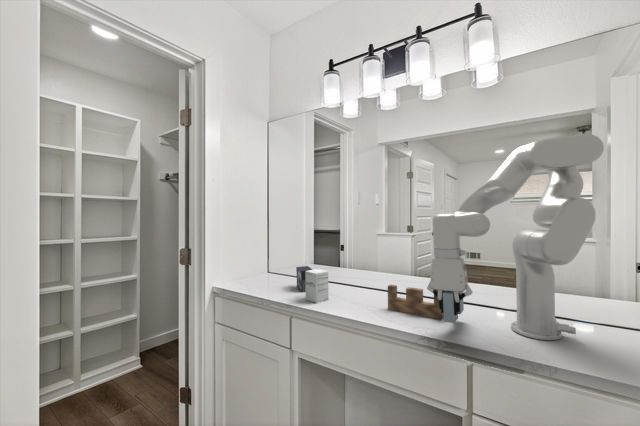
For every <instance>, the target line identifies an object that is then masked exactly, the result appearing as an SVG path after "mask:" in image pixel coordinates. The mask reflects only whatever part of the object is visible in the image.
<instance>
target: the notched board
mask: <svg viewBox="0 0 640 426" xmlns="http://www.w3.org/2000/svg"><path fill="white" fill-rule="evenodd" d="M387 310H390V311H396V312H400V313H406V314H411V315H416V316H421V317H427V318H432V319H437V320H441V321H442V320H443V321H444V313H441V309H440V308H439V300H438V298H437V297H436V296H435V295H434V294H433V302H428V301H424V288H417V287H412V286H411V287H410V286H408V287H406V288H405V298H404V297H398V285H395V284H389V285H387Z"/></svg>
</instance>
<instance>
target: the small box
mask: <svg viewBox="0 0 640 426" xmlns="http://www.w3.org/2000/svg"><path fill="white" fill-rule="evenodd" d="M308 270H314V269H313V268H311V267H310V266H309V265H305V266H303V265H302V266H296V270H295V271H296V288H297V289H298V291H300V292H301V293H306V275H305V271H308Z"/></svg>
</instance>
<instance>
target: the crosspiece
mask: <svg viewBox="0 0 640 426" xmlns="http://www.w3.org/2000/svg"><path fill="white" fill-rule="evenodd" d="M460 293H463V292H460ZM454 300H455V296H454V292H451V291H444V292H443V310H444V318H443V322H445V323H450V324H456V322H457V320H458V319H459V315H462V313H463V311H464V309H465V308H464V307H465V306H464V304H465V303H464V298H463V299H462V300H461V301H460V312H459V313H458V314H457V315H454Z"/></svg>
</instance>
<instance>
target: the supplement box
mask: <svg viewBox="0 0 640 426" xmlns="http://www.w3.org/2000/svg"><path fill="white" fill-rule="evenodd" d="M305 275H306V292H305V301H310V302H312V303H315V304H319V303H318V302H320V303H323V302H326V300H327V301H329V271H328V270H325V269H320V268H319V269H318V268H315V269H313V270H308V271H305ZM322 301H323V302H322Z"/></svg>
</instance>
